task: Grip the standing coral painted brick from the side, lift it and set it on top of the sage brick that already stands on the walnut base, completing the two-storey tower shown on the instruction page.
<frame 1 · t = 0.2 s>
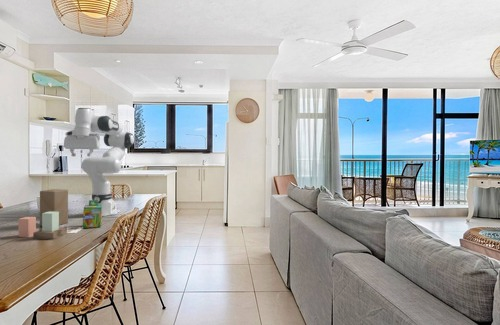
hand: (81, 156, 180), 40 cm above the table, tool pointing down, fingers open, 8 cm apart
walnut base: (50, 236, 150), on the table
coral brick: (27, 235, 151), on the table
instruction page: (71, 230, 162), on the table
sage brick: (50, 230, 150), point 3 cm above the table, touching walnut base
green printed box: (92, 226, 172), on the table, touching instruction page
wooden block: (54, 224, 175), on the table
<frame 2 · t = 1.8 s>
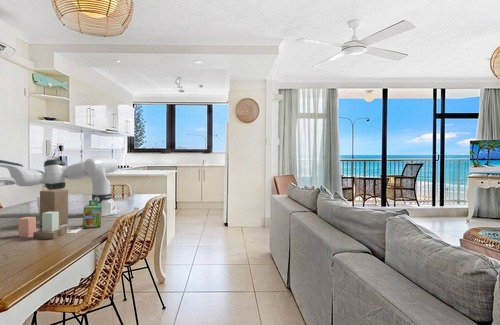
hand: (6, 183, 157), 25 cm above the table, tool horizontal, fingers open, 8 cm apart
nothing on the table moved.
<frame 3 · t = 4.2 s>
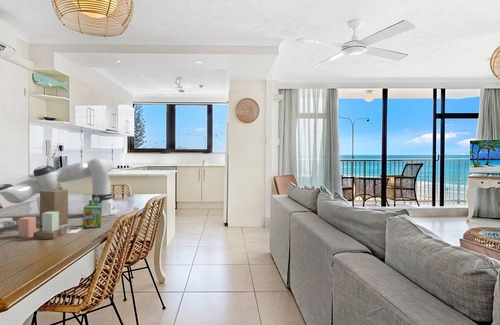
hand: (6, 225, 151), 5 cm above the table, tool horizontal, fingers open, 8 cm apart
nothing on the table moved.
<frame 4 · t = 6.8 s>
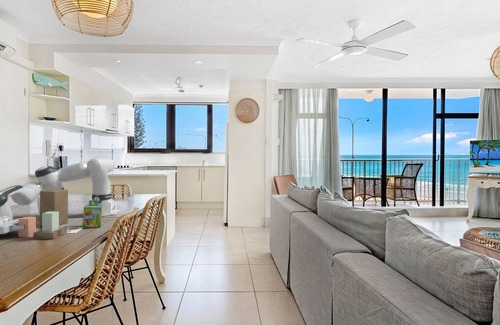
hand: (29, 225, 151), 5 cm above the table, tool horizontal, fingers closed on coral brick, 5 cm apart
coral brick: (27, 235, 151), on the table, touching gripper
everything else where it was.
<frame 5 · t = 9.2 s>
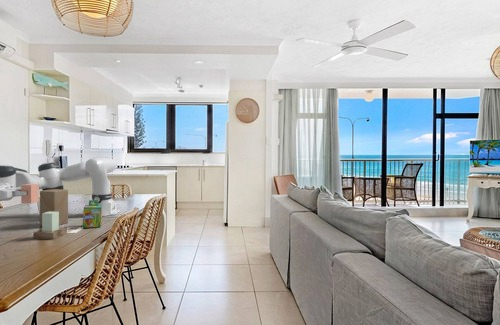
hand: (31, 192, 150), 22 cm above the table, tool horizontal, fingers closed on coral brick, 5 cm apart
coral brick: (30, 202, 150), point 17 cm above the table, touching gripper
everything else where it was.
when the fingers open (18 cm above the table, at t = 11.5 s): coral brick stays where it is, resting on sage brick.
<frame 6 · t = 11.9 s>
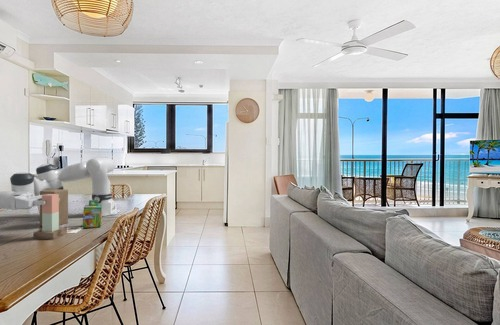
hand: (52, 201, 150), 18 cm above the table, tool horizontal, fingers open, 8 cm apart
coral brick: (50, 212, 150), point 12 cm above the table, touching sage brick
sage brick: (50, 230, 150), point 3 cm above the table, touching coral brick, walnut base
everything else where it was.
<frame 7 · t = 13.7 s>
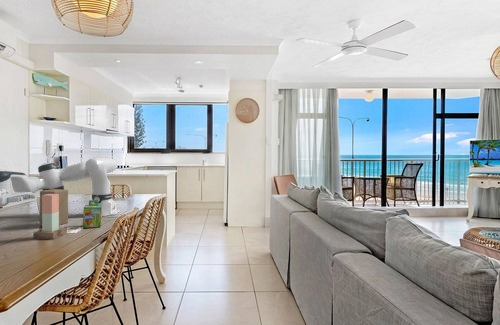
hand: (27, 198, 151), 19 cm above the table, tool horizontal, fingers open, 8 cm apart
nothing on the table moved.
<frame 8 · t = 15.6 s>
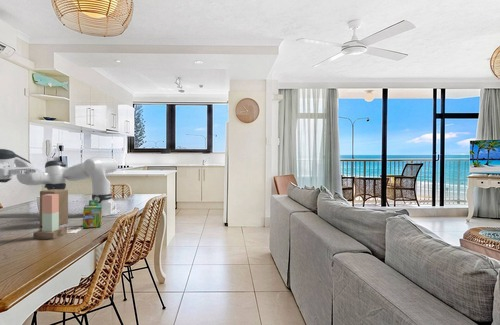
hand: (28, 171, 156), 32 cm above the table, tool horizontal, fingers open, 8 cm apart
nothing on the table moved.
at the end: coral brick 0.0 cm off-centre on the sage brick, point 9.0 cm above the sage brick's base; coral brick tilted 0°; the gripper is holding nothing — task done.
